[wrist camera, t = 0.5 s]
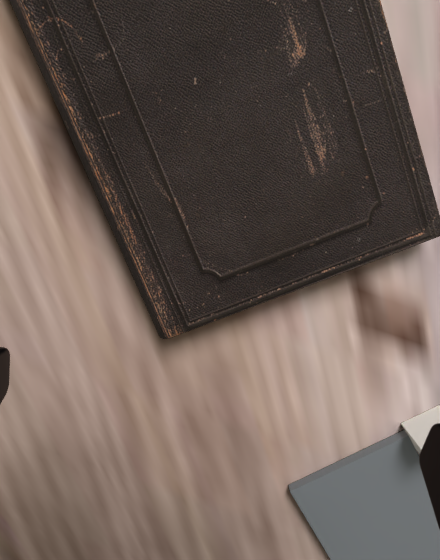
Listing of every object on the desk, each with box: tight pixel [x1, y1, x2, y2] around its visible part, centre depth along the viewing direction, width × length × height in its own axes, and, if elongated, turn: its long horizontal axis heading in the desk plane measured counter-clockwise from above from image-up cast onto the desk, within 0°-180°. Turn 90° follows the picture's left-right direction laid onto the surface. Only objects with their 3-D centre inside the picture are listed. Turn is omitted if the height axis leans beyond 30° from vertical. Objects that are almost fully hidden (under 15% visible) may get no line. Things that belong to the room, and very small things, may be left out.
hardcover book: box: [9, 0, 440, 339], centre depth 21 cm, size 16×23×2 cm
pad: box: [289, 430, 440, 560], centre depth 27 cm, size 8×12×1 cm, turn 29°
